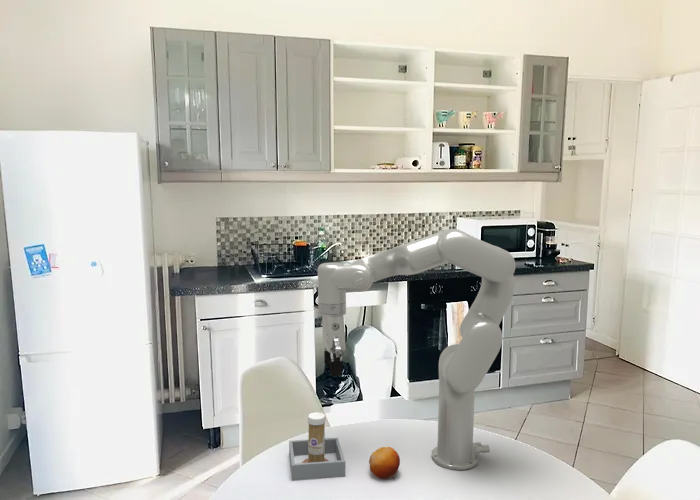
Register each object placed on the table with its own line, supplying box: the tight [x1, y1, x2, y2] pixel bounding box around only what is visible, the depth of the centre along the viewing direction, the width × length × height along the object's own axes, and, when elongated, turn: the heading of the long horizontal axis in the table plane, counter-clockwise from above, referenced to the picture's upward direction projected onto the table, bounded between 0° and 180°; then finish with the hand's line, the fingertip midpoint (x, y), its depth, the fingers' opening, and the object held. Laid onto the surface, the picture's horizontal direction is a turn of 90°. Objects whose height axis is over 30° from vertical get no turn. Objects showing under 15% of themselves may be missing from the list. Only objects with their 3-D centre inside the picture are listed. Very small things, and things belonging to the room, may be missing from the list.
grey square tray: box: [288, 437, 346, 481], centre depth 139 cm, size 14×14×4 cm
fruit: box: [368, 446, 401, 480], centre depth 135 cm, size 8×8×8 cm
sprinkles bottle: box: [307, 411, 326, 463], centre depth 139 cm, size 5×5×14 cm
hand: (333, 369), depth 143 cm, fingers open, 9 cm apart
